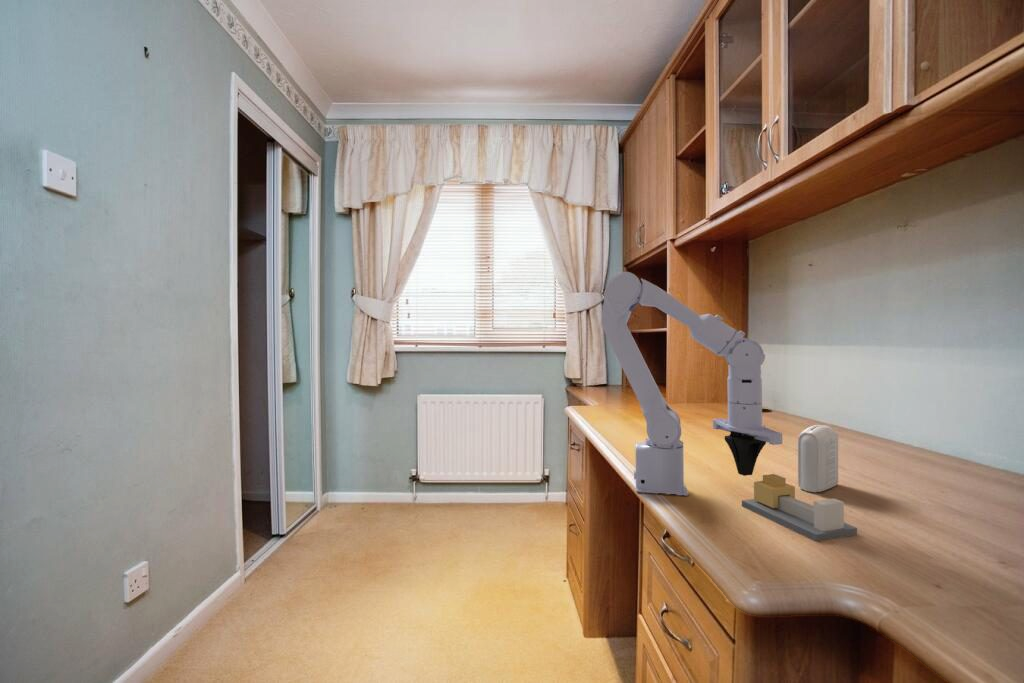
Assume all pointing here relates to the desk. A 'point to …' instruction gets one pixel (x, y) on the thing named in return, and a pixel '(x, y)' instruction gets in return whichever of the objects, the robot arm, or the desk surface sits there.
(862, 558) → the desk surface
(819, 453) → the photo printer
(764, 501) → the slider
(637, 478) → the robot arm
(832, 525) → the rail board
